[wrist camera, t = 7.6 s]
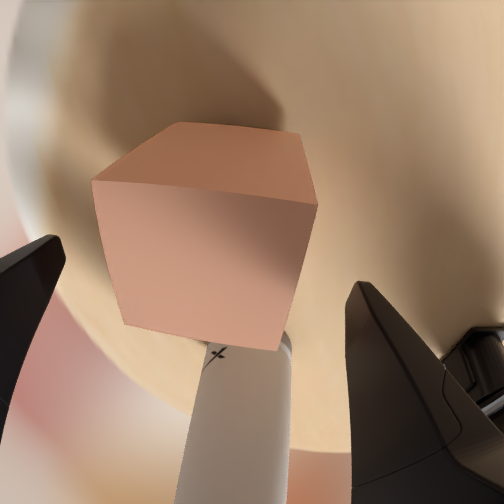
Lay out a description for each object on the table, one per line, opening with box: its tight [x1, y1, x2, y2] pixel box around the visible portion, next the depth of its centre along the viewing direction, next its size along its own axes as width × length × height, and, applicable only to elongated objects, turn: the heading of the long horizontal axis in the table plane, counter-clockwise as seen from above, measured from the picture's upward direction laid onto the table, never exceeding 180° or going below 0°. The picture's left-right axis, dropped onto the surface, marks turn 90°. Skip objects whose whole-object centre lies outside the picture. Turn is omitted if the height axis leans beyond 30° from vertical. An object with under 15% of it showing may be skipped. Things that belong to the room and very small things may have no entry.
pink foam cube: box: [91, 122, 318, 351], centre depth 10 cm, size 5×5×7 cm
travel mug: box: [174, 332, 292, 504], centre depth 13 cm, size 6×7×20 cm
